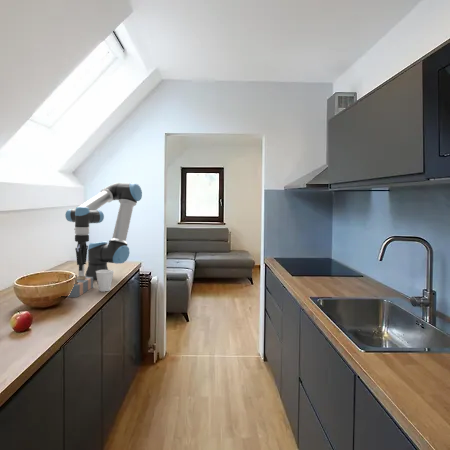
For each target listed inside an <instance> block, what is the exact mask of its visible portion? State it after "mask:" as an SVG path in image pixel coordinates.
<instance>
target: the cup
mask: <svg viewBox="0 0 450 450" xmlns="http://www.w3.org/2000/svg"><path fill="white" fill-rule="evenodd" d="M114 272H115V270H112V269H108V270H98V271H96V275H97V279H96V280H97V287H98V288H97V289H98V291H99V292H101V293H102V292H104V293H105V291H107V292H110V291H111V288H112V281H113V278H114V277H113V276H114Z"/></svg>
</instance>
